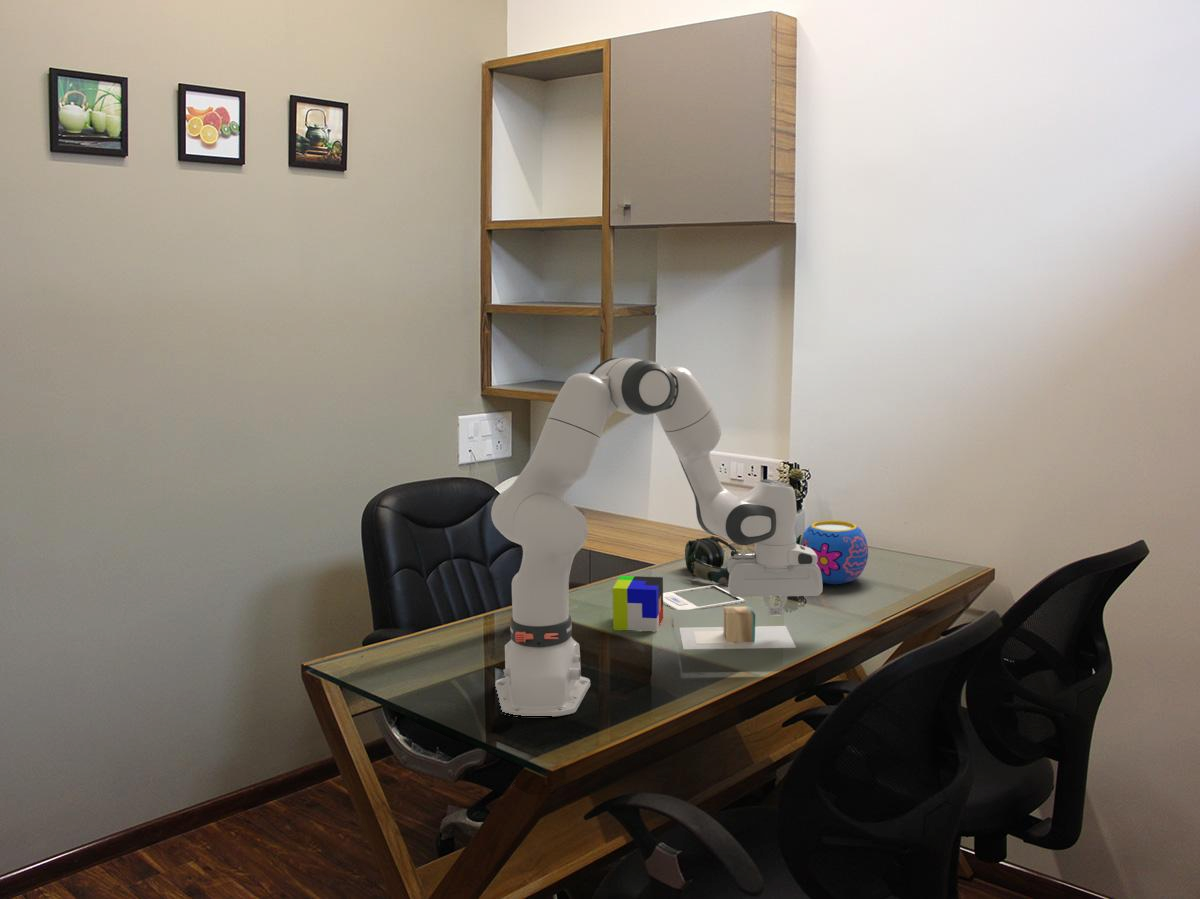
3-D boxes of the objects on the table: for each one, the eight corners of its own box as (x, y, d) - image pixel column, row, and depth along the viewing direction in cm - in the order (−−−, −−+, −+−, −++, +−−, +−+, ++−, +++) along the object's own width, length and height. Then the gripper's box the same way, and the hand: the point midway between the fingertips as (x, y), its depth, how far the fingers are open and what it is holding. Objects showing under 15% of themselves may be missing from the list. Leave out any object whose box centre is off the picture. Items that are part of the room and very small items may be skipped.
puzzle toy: (656, 632, 249) (656, 589, 247) (613, 630, 251) (612, 588, 249) (663, 618, 258) (662, 577, 256) (621, 616, 260) (620, 575, 259)
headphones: (661, 553, 293) (711, 580, 278) (692, 515, 296) (743, 540, 281) (685, 579, 302) (734, 607, 287) (714, 542, 305) (765, 568, 289)
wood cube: (755, 615, 237) (727, 615, 237) (754, 641, 238) (727, 641, 238) (751, 606, 243) (723, 606, 243) (750, 632, 244) (723, 632, 244)
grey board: (796, 652, 234) (796, 647, 234) (683, 653, 235) (683, 648, 234) (785, 630, 248) (785, 625, 248) (679, 631, 248) (679, 627, 248)
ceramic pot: (827, 568, 297) (827, 514, 294) (881, 582, 283) (883, 525, 281) (783, 581, 286) (784, 525, 283) (838, 596, 272) (839, 537, 270)
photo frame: (651, 594, 275) (714, 584, 282) (652, 598, 275) (714, 588, 282) (680, 610, 262) (744, 599, 269) (680, 614, 262) (744, 603, 269)
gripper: (728, 558, 235) (728, 620, 237) (824, 556, 235) (823, 618, 237) (725, 550, 241) (725, 611, 243) (819, 549, 241) (818, 609, 243)
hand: (774, 614), depth 240 cm, fingers closed
